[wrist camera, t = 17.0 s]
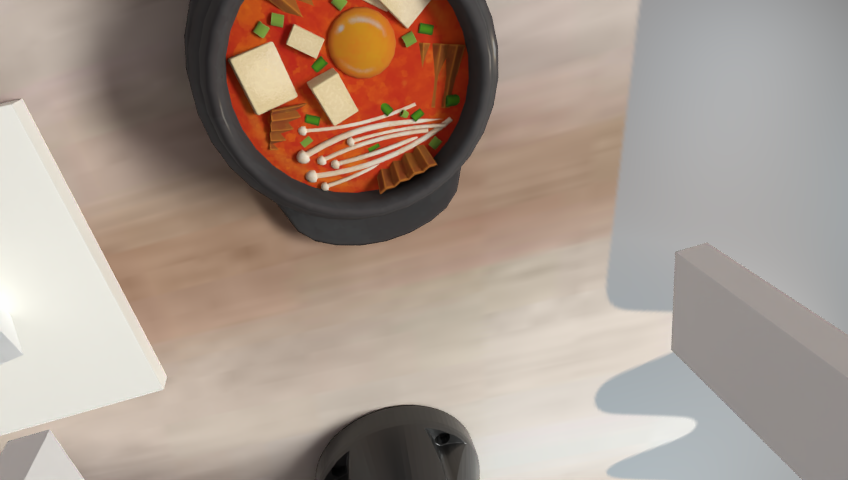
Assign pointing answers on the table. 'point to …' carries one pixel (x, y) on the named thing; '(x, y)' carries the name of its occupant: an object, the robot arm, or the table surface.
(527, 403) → the table surface
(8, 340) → the figurine
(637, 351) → the table surface
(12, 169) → the board
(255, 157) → the casserole
